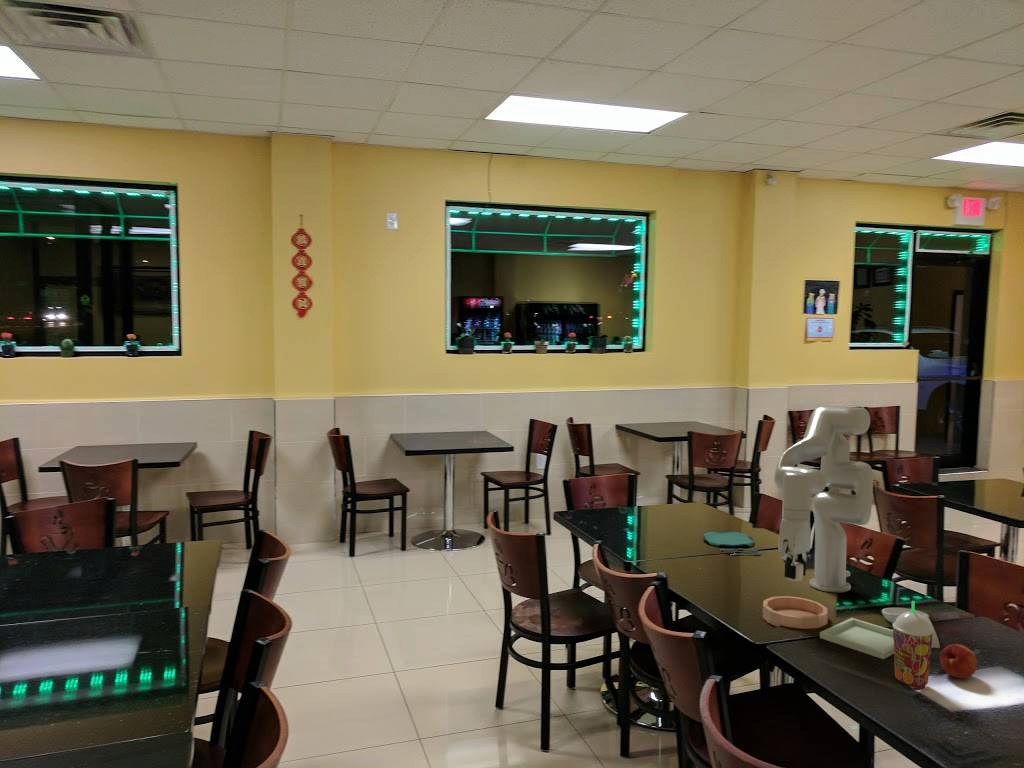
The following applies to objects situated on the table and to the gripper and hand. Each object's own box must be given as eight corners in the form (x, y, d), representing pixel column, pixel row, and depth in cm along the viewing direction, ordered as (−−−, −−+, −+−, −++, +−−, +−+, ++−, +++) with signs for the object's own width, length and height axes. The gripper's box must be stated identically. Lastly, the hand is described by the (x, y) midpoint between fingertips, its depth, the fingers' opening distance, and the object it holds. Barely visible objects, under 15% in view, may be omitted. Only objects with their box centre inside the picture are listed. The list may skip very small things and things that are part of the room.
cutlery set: (746, 536, 302) (746, 530, 302) (766, 558, 272) (766, 552, 272) (698, 536, 303) (698, 530, 303) (713, 558, 274) (713, 552, 273)
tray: (851, 626, 204) (851, 617, 204) (914, 645, 190) (914, 636, 190) (819, 641, 194) (819, 632, 193) (883, 663, 180) (883, 653, 180)
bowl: (784, 605, 221) (784, 592, 221) (838, 622, 207) (839, 608, 207) (751, 618, 210) (751, 604, 210) (806, 637, 196) (806, 622, 196)
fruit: (931, 670, 176) (931, 638, 176) (962, 668, 177) (963, 637, 176) (952, 685, 168) (953, 651, 168) (985, 683, 169) (986, 650, 168)
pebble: (792, 575, 211) (792, 560, 211) (806, 579, 207) (806, 564, 207) (783, 578, 208) (784, 563, 208) (797, 582, 205) (798, 567, 205)
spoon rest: (875, 617, 211) (875, 593, 211) (918, 619, 209) (918, 595, 209) (907, 651, 188) (908, 624, 187) (956, 653, 186) (956, 626, 186)
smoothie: (883, 677, 172) (885, 595, 171) (916, 675, 173) (918, 594, 172) (905, 693, 164) (907, 608, 163) (940, 692, 165) (942, 607, 164)
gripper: (800, 508, 215) (799, 568, 216) (767, 515, 205) (766, 578, 206) (823, 512, 209) (822, 574, 210) (791, 520, 199) (790, 585, 200)
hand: (795, 575), depth 208 cm, fingers closed on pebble, 4 cm apart
